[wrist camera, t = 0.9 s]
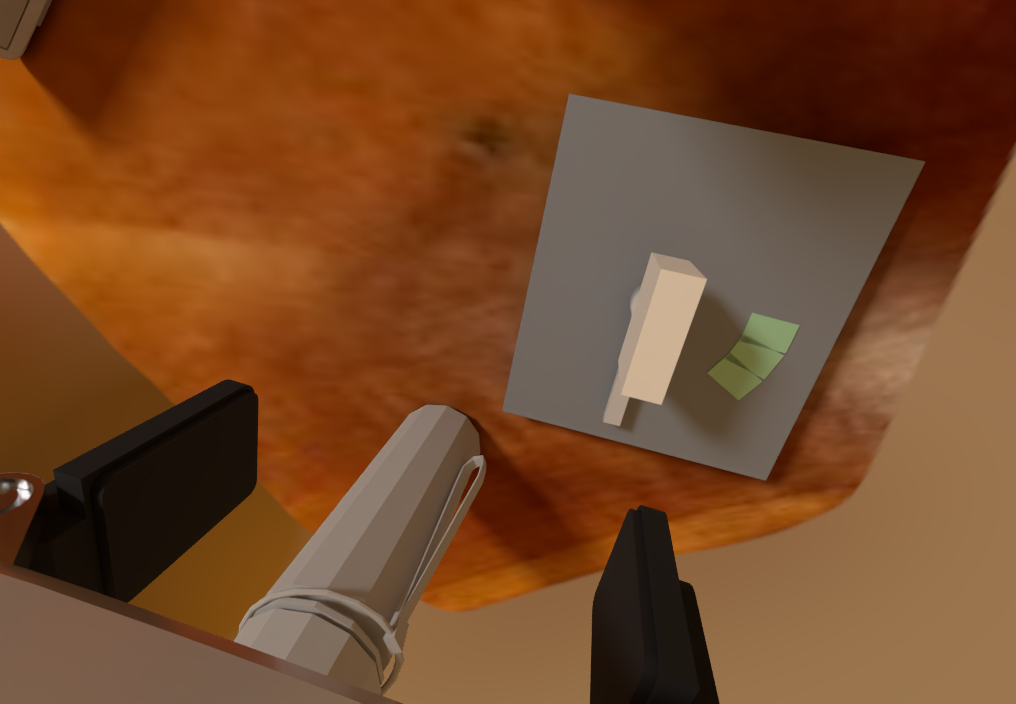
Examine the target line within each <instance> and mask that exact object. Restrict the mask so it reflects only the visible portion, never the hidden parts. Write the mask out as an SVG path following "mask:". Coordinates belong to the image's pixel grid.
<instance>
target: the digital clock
mask: <svg viewBox="0 0 1016 704" xmlns="http://www.w3.org/2000/svg"><path fill="white" fill-rule="evenodd" d="M51 2H52V0H0V58H4V59H10V60H15V59H18V58H20V57H21V56H22V55H23V54H24V52H25V50H26V48H27V46H28V44H29V42H30V39H31V37H32V35H33V33H34V31H35V28H36V26H39V27H40V26H41V24H42V21H43V19H44V17H45V15H46V13H47V10H48V8H49V6H50V4H51Z"/></svg>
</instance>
